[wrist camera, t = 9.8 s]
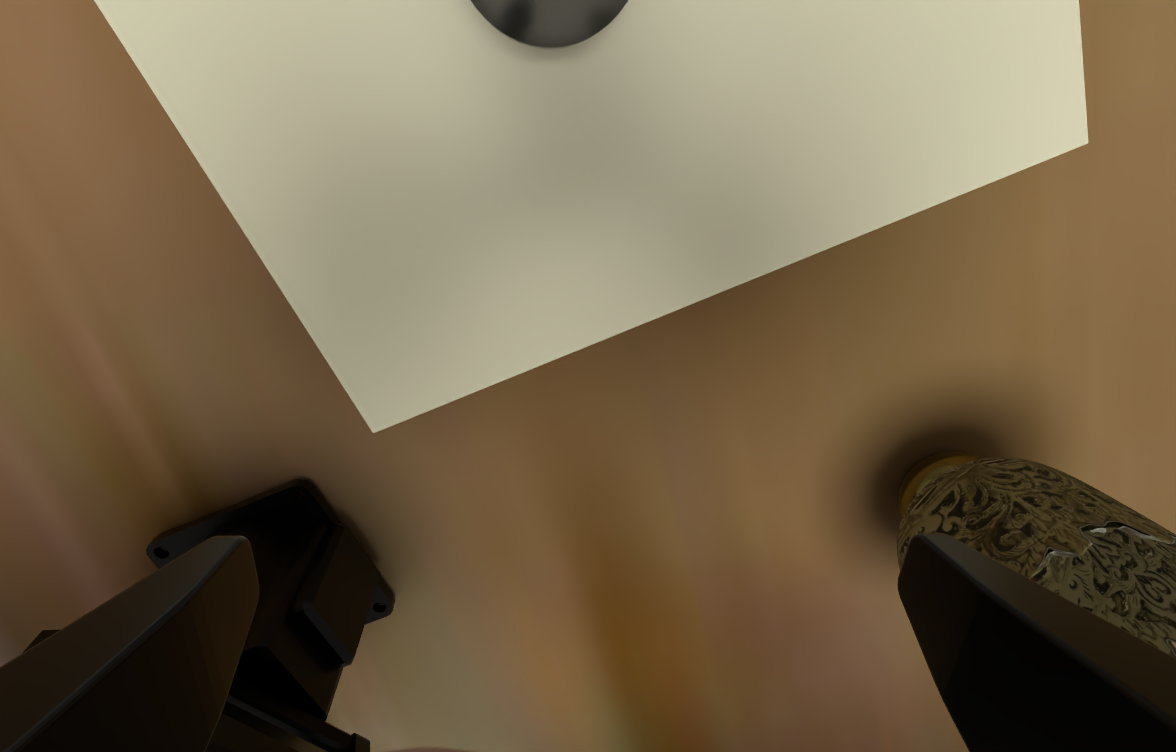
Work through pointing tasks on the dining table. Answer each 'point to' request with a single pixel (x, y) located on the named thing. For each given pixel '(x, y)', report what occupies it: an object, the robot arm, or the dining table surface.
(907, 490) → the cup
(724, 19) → the dial plate
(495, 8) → the dark knobbed cylinder
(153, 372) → the dining table surface
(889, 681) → the dining table surface
